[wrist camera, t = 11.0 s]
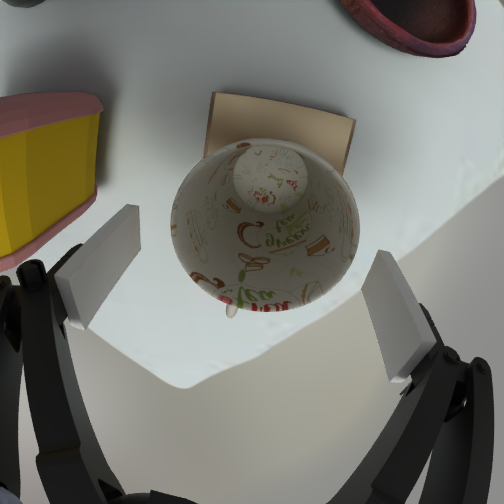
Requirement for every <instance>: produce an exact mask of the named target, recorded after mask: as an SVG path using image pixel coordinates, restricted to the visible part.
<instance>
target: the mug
mask: <svg viewBox="0 0 504 504" xmlns="http://www.w3.org/2000/svg"><path fill="white" fill-rule="evenodd" d="M359 235H360V221H359V214H358V209H357V205H356V202H355V199H354V197H353V194H352V192H351V190H350V188H349V186H348V185H347V183H346V181H345V180H344V179H343V177H342V176H341V175H340V173H339V172H338V171H337V170H336V169H335V168H334V167H333V166H332V165H331V164H330V163H329V162H328V161H327V160H325V159H324V158H323V157H321V156H320V155H319V154H317V153H315V152H314V151H312V150H310V149H308V148H306V147H304V146H302V145H299V144H297V143H294V142H291V141H287V140H282V139H276V138H252V139H246V140H241V141H238V142H234V143H231V144H229V145H226V146H224V147H222V148H220V149H218V150H216V151H214V152H212V153H211V154H209V155H208V156H206V157H205V158H204V159H203V160H201V161H200V162H199V163H198V164H197V165H196V166H195V167H194V168H193V169H192V170H191V171H190V172H189V174H188V175H187V176H186V178H185V179H184V181H183V182H182V184H181V186H180V188H179V190H178V192H177V194H176V197H175V200H174V203H173V207H172V213H171V236H172V241H173V246H174V249H175V252H176V254H177V256H178V259H179V261H180V263H181V264H182V266H183V268H184V269H185V271H186V272H187V274H188V275H189V276H190V277H191V278H192V280H193V281H194V282H195V283H196V284H197V285H198V286H200V287H201V288H202V289H203V290H204V291H206V292H207V293H209V294H210V295H211V296H213V297H215V298H216V299H218V300H220V301H222V302H224V303H227V306H226V315H227V317H229V318H232V317H234V316H235V314H236V313H237V310H238V308H241V309H246V310H251V311H259V312H276V311H284V310H290V309H294V308H297V307H300V306H303V305H306V304H308V303H311V302H312V301H314V300H316V299H318V298H320V297H321V296H323V295H324V294H326V293H327V292H328V291H329V290H331V289H332V288H333V287H334V286H335V285H336V284H337V283H338V282H339V281H340V280H341V279H342V277H343V276H344V275H345V274H346V272H347V270H348V269H349V267H350V265H351V263H352V261H353V259H354V257H355V254H356V251H357V247H358V243H359Z"/></svg>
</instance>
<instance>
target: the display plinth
mask: <svg viewBox="0 0 504 504" xmlns="http://www.w3.org/2000/svg"><path fill="white" fill-rule="evenodd" d="M355 124H356V120H355V119H351V118H348V117H344V116H341V115H337V114H334V113H330V112H326V111H322V110H318V109H314V108H310V107H305V106H301V105H296V104H291V103H286V102H281V101H276V100H270V99H264V98H258V97H252V96H245V95H237V94H229V93H220V92H212V98H211V104H210V111H209V118H208V125H207V133H206V141H205V149H204V157H203V159H204V158H205V157H206V156H208V155H209V154H211V153H212V152H214V151H216V150H218V149H220V148H222V147H224V146H226V145H229V144H231V143H234V142H238V141H241V140H246V139H252V138H276V139H282V140H287V141H291V142H294V143H297V144H299V145H302V146H304V147H306V148H308V149H310V150H312V151H314V152H315V153H317V154H319V155H320V156H321V157H323V158H324V159H325V160H327V161H328V162H329V163H330V164H331V165H332V166H333V167H334V168H335V169H336V170H337V171H338V172H339V173H340V175H341V176H343V172H344V168H345V164H346V160H347V156H348V153H349V149H350V144H351V140H352V136H353V132H354V128H355Z"/></svg>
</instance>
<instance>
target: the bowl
mask: <svg viewBox="0 0 504 504" xmlns="http://www.w3.org/2000/svg"><path fill="white" fill-rule="evenodd" d="M340 1H341V3H342V4H343V6H344V7H345V9H346V10H347V11H348V12H349V13H350V14H351V15H352V17H353V18H354V19H355V20H356V21H357V22H358V23H359V24H360V25H361V26H362V27H363V28H364V29H366V30H367V31H368V32H369V33H371V34H372V35H373V36H375V37H376V38H378V39H379V40H380V41H382V42H383V43H385V44H387V45H388V46H391V47H393V48H395V49H397V50H399V51H401V52H404V53H408V54H411V55H415V56H423V57H430V58H444V57H450V56H455V55H458V54H459V53H460V52H461V51H463V50H464V48H465V47H466V44H468V41H469V40H470V38H471V36H472V34H473V32H474V28H475V24H476V7H475V2H474V0H340Z"/></svg>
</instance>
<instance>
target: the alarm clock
mask: <svg viewBox="0 0 504 504" xmlns="http://www.w3.org/2000/svg"><path fill="white" fill-rule="evenodd" d="M103 110H104V108H103V105H102V102H101V101H100V100H99V99H98V97H97V96H95V95H92V94H89V93H86V92H80V91H61V92H39V93H27V94H19V95H12V96H6V97H0V272H3V271H5V270H8V269H11V268H13V267H15V266H17V265H18V264H19V263H21V262H23V261H24V260H26V259H27V258H29V257H30V256H32V255H33V254H34V253H35V252H36V251H38V250H39V249H40V248H41V247H42V246H43V245H45V244H46V243H47V242H48V241H49V240H51V239H52V238H53V237H54V236H55V235H57V234H58V233H59V232H60V231H62V230H63V229H64V228H65V227H67V226H68V225H69V224H71V223H72V222H73V221H74V220H76V219H77V218H78V217H80V216H81V215H82V214H83V213H84V212H85V211H86V210H87V209H88V208H89V207H90V206H91V205H92V204H93V203H94V202H95V200H96V196H97V185H96V184H95V164H96V150H97V138H98V128H99V120H100V113H101V112H103Z"/></svg>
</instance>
